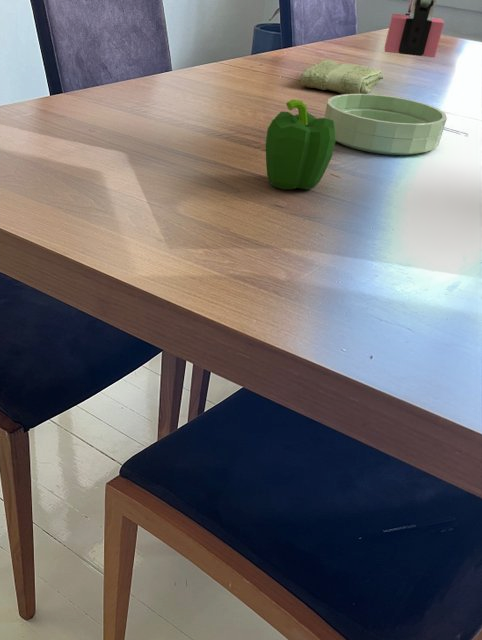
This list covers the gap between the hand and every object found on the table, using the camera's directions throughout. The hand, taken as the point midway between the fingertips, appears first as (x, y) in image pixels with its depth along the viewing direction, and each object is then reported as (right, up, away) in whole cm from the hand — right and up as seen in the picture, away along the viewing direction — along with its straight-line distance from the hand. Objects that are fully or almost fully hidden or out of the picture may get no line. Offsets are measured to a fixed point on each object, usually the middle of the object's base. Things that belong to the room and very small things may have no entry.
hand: (410, 49), depth 98 cm
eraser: (0, 0, 0) cm, 0 cm away
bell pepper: (-17, -21, -6) cm, 28 cm away
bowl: (0, -7, +13) cm, 14 cm away
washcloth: (+2, +16, +42) cm, 45 cm away
